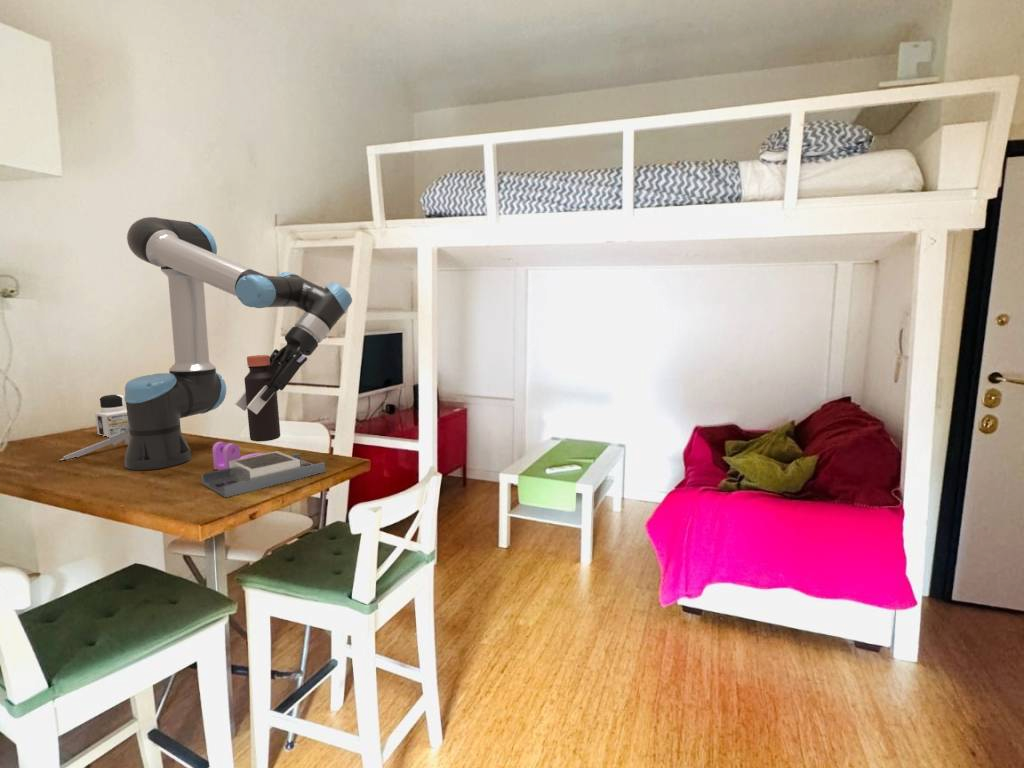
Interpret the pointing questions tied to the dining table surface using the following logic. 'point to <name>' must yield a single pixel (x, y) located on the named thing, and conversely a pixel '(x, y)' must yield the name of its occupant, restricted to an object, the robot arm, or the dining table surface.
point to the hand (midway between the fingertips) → (245, 408)
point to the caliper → (102, 444)
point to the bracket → (227, 454)
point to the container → (111, 415)
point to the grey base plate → (259, 473)
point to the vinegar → (267, 419)
